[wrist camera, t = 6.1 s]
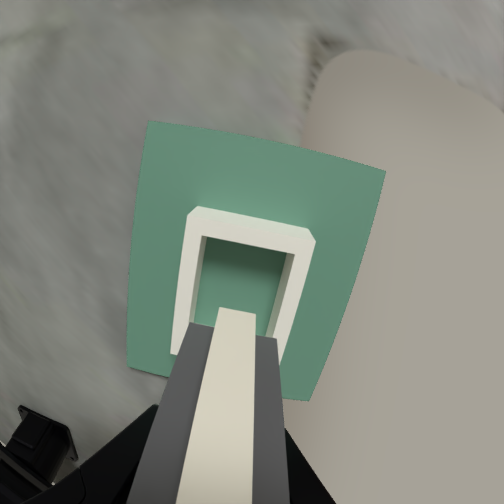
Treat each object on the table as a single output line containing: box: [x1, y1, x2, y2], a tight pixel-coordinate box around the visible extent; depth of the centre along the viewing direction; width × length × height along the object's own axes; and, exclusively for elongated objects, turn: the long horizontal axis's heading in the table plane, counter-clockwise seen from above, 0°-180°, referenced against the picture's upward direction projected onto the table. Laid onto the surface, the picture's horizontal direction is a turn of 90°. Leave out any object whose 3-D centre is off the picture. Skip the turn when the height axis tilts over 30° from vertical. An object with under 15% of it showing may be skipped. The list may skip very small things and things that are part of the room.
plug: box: [126, 307, 290, 504], centre depth 7 cm, size 5×3×9 cm, turn 168°
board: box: [127, 121, 386, 401], centre depth 18 cm, size 16×13×4 cm
